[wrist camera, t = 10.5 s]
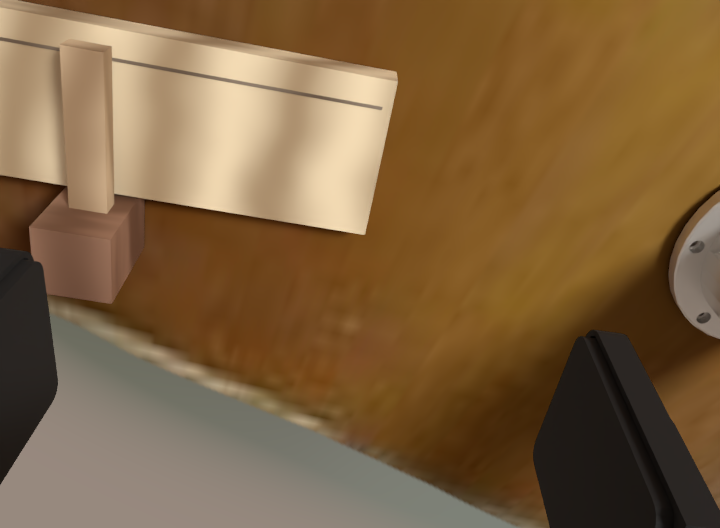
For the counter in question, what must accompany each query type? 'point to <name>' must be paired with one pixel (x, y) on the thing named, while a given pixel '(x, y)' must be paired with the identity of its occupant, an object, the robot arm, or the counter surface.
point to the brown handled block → (88, 189)
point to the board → (202, 118)
